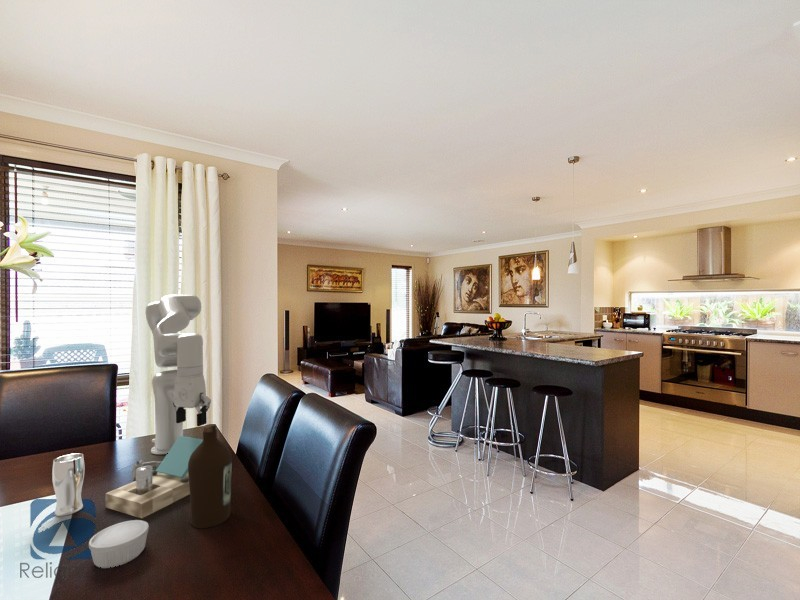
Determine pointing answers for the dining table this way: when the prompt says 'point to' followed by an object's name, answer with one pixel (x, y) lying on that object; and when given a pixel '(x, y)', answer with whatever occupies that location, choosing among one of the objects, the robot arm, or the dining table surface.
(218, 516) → the olive oil
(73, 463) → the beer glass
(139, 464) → the caliper
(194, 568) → the dining table surface
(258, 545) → the dining table surface
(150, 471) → the steel peg
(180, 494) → the wooden block
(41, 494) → the dining table surface
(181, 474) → the latch flap
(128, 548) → the ramekin
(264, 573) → the dining table surface
